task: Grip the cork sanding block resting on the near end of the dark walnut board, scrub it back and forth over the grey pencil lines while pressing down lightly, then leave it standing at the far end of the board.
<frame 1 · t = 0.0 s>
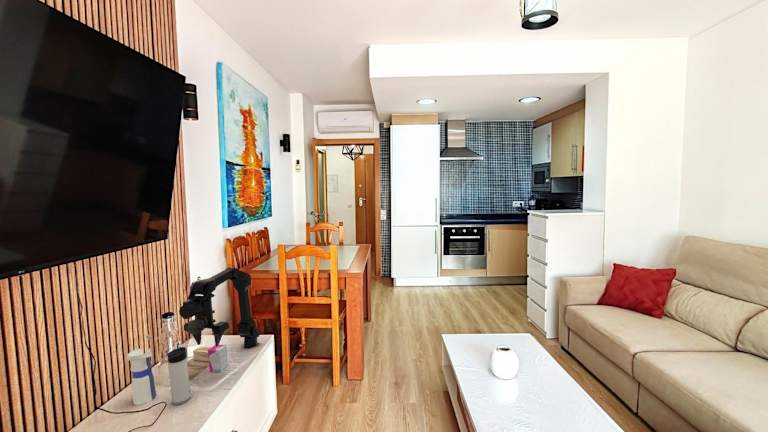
hand: (208, 345, 149), 15 cm above the table, tool pointing down, fingers open, 9 cm apart
travel mug: (181, 400, 136), on the table
sanding block: (205, 359, 165), point 1 cm above the table, touching walnut board
supplement box: (219, 372, 156), on the table
walnut board: (195, 368, 159), on the table
water bottle: (144, 398, 138), on the table
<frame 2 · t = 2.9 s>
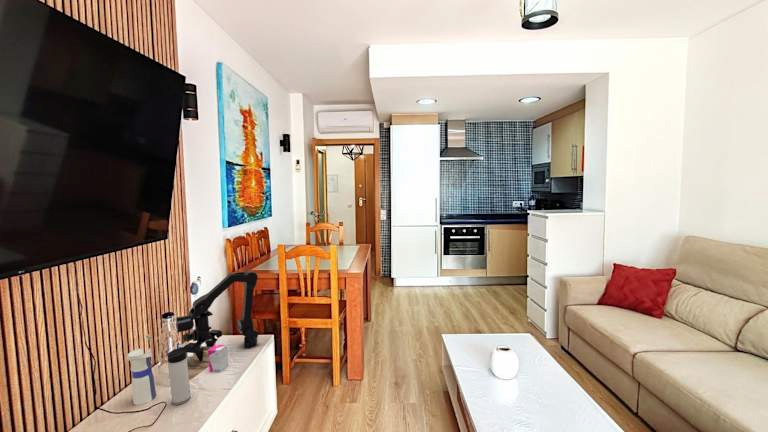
hand: (205, 358, 165), 2 cm above the table, tool pointing down, fingers closed on sanding block, 5 cm apart
sanding block: (205, 359, 165), point 1 cm above the table, touching gripper, walnut board
everything else where it was.
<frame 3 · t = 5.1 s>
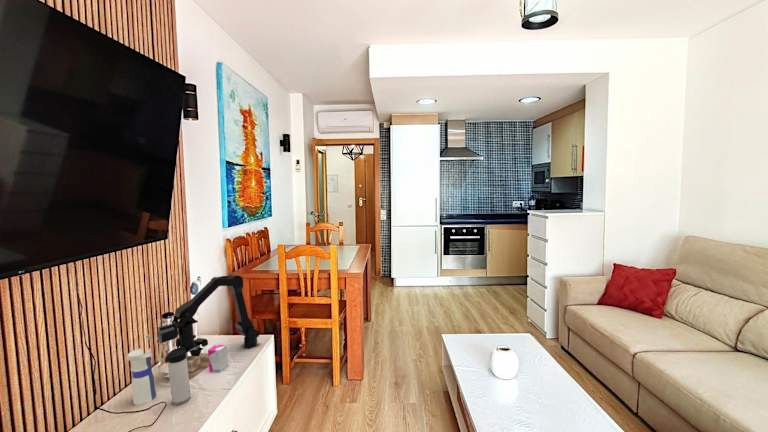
hand: (189, 368, 156), 2 cm above the table, tool pointing down, fingers closed on sanding block, 5 cm apart
sanding block: (189, 369, 156), point 2 cm above the table, touching gripper
everything else where it was.
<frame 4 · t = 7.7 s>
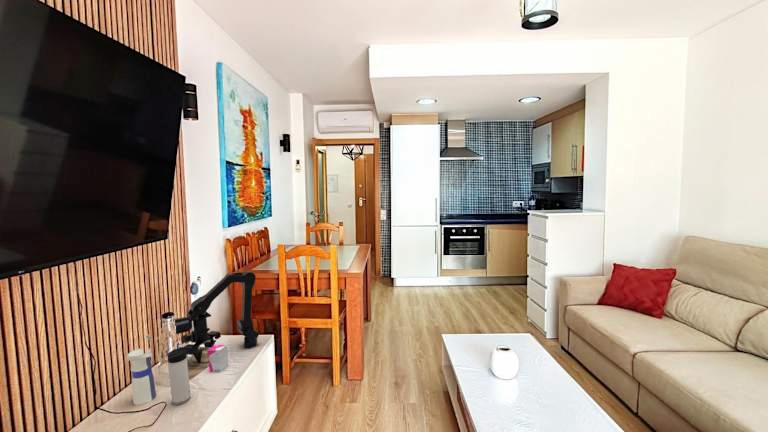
hand: (203, 359, 164), 2 cm above the table, tool pointing down, fingers closed on sanding block, 5 cm apart
sanding block: (203, 359, 164), point 2 cm above the table, touching gripper
everything else where it was.
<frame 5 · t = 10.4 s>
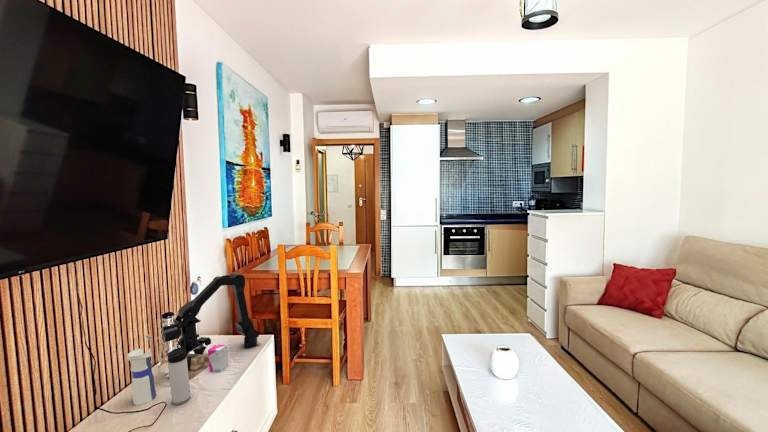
hand: (193, 367, 158), 2 cm above the table, tool pointing down, fingers closed on sanding block, 5 cm apart
sanding block: (192, 367, 158), point 2 cm above the table, touching gripper
everything else where it was.
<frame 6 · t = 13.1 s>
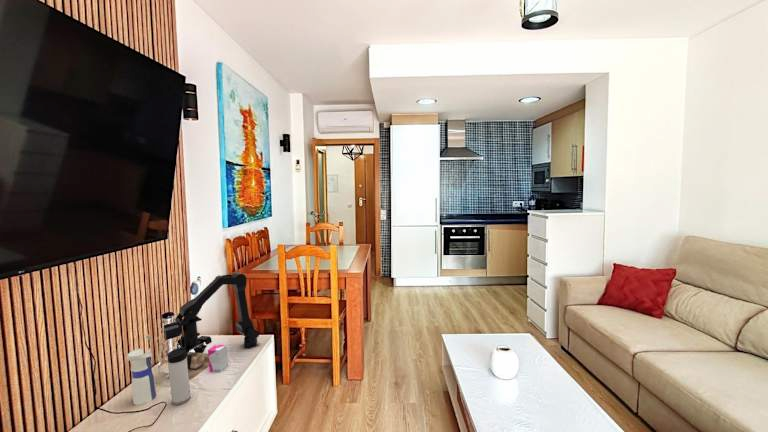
hand: (193, 365, 158), 2 cm above the table, tool pointing down, fingers closed on sanding block, 5 cm apart
sanding block: (192, 365, 158), point 2 cm above the table, touching gripper
everything else where it was.
when the fingers open (2 cm above the table, at t = 15.4 s): sanding block stays where it is, resting on walnut board.
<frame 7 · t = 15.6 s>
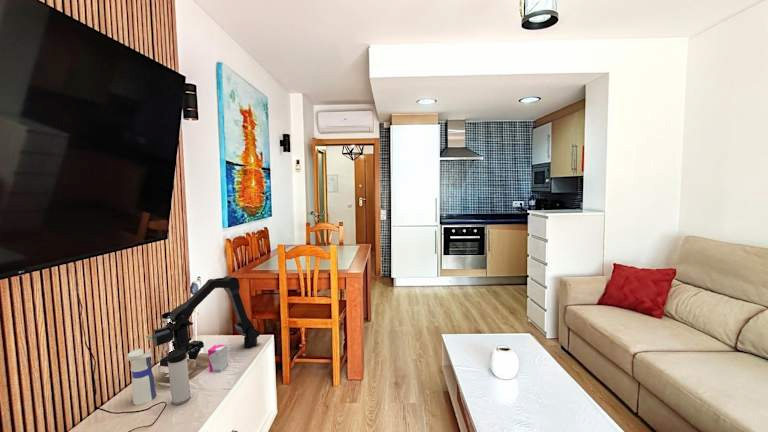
hand: (184, 371, 153), 2 cm above the table, tool pointing down, fingers open, 7 cm apart
sanding block: (184, 372, 153), point 2 cm above the table, touching walnut board
everything else where it was.
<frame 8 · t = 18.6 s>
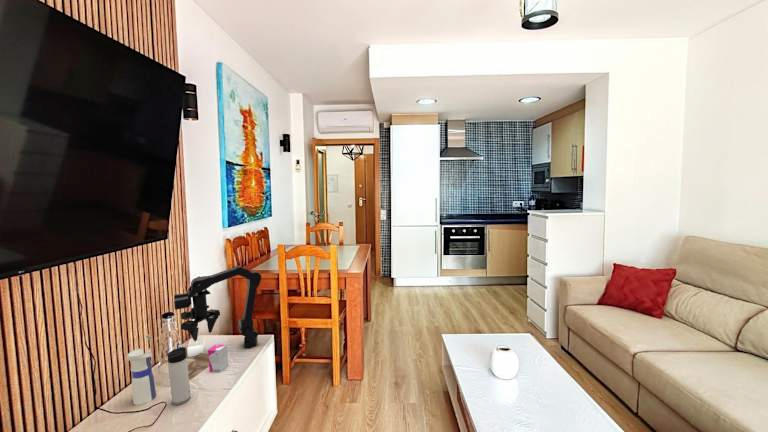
hand: (202, 336, 165), 12 cm above the table, tool pointing down, fingers open, 9 cm apart
nothing on the table moved.
at the end: sanding block inside the target area (0.1 cm from its centre), point 1.5 cm above the table; sanding block tilted 0°; the gripper is holding nothing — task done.
